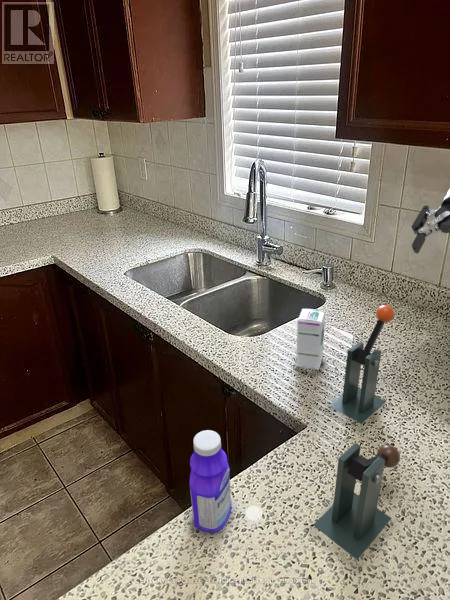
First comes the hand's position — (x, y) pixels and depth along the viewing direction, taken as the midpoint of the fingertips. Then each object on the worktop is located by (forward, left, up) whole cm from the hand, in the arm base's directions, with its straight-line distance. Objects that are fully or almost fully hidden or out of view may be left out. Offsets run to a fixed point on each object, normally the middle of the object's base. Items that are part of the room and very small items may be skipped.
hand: (435, 256), depth 91 cm
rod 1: (+8, +11, -15) cm, 20 cm away
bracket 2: (+5, +45, -31) cm, 54 cm away
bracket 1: (+10, +16, -31) cm, 36 cm away
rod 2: (+3, +41, -21) cm, 46 cm away
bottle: (+26, +53, -31) cm, 66 cm away
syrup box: (+24, +5, -31) cm, 39 cm away
